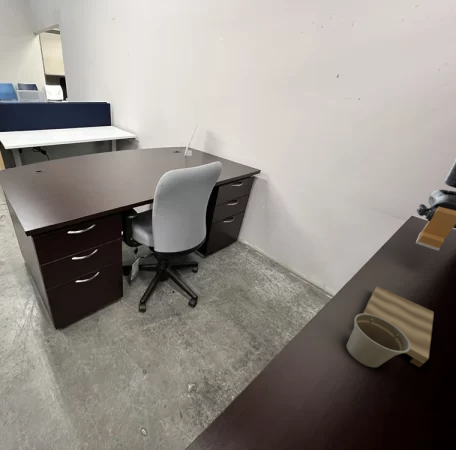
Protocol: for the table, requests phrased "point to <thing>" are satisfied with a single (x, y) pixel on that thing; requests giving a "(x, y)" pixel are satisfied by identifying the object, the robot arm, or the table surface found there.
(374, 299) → the wooden board
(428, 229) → the orange block
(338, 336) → the table surface
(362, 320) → the flower pot
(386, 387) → the table surface
